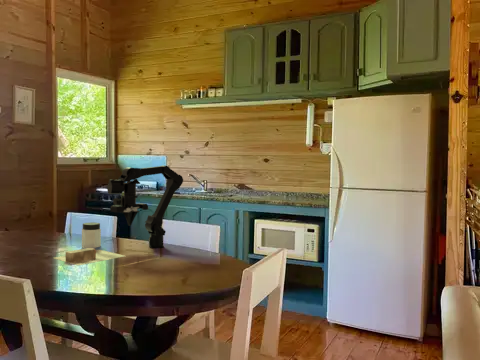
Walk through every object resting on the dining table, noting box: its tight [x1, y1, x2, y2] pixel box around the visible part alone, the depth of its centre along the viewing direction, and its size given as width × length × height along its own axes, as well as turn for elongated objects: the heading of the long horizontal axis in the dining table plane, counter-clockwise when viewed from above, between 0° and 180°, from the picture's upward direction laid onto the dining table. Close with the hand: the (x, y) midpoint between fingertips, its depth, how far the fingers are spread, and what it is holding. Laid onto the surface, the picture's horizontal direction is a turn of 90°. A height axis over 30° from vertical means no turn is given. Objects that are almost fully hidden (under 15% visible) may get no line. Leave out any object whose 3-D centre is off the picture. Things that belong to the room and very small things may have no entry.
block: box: [65, 248, 97, 264], centre depth 193 cm, size 4×4×12 cm
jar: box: [81, 221, 102, 249], centre depth 221 cm, size 9×8×12 cm
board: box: [53, 249, 125, 266], centre depth 199 cm, size 24×20×1 cm
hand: (129, 225), depth 217 cm, fingers closed
